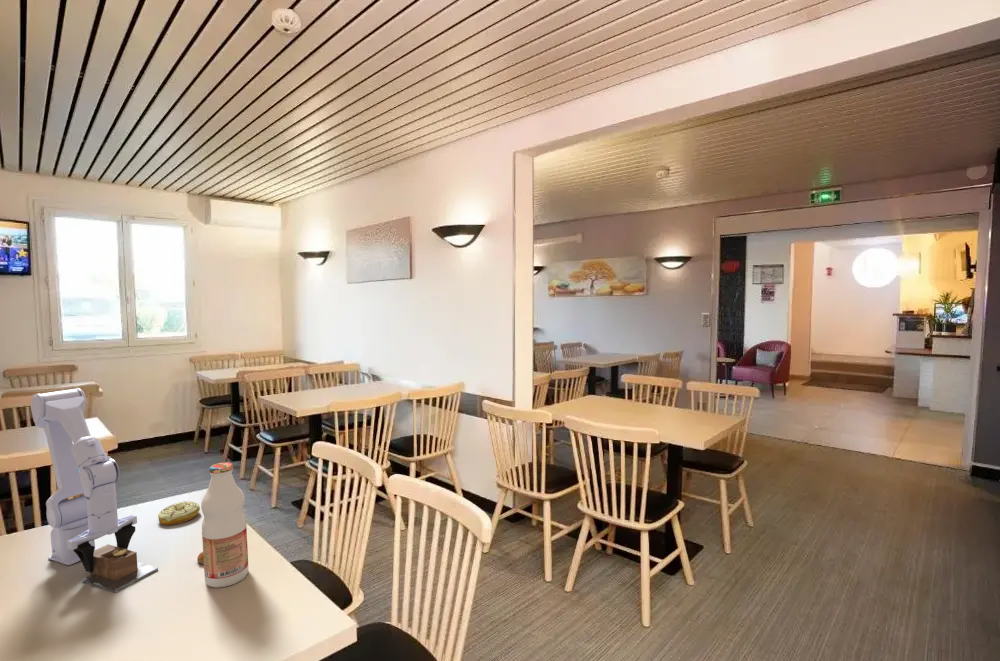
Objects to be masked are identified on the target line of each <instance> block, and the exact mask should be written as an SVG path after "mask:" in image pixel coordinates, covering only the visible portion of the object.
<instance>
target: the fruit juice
mask: <svg viewBox="0 0 1000 661" xmlns="http://www.w3.org/2000/svg"><path fill="white" fill-rule="evenodd" d="M232 472H234V465H233V463H232V462H227V461H226V462H219V463H215V464H212V465H211V466H210V467H209V475H211V476H210V481H209V484H208V488H207V490H206V492H205V494H204V495H203V497H202V500H201V504H200V505H201V506H200V510H201V511H202V515H203V521H202V523H201V524H202V525H201V536H202V537H201V538H202V540H201V541H202V552H203V558H204V564H203V574H204V582H205V584H206V585H207V586H208V587H209V588H216V589H217V588H224V587H229V586H233V585H235V584H238V583H239V582H241V581H242V580H243V579H245V578H246V576H247V575H248V573H249V552H248V551H249V550H248V532H247V517H246V513H245V512H244V510H243V508H244V505H245V494H244V492H243V491H242V489H241V488H240V487H239V486H238V485H237V483H236V481H235V479H234V476H233V473H232Z"/></svg>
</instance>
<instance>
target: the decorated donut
mask: <svg viewBox="0 0 1000 661" xmlns="http://www.w3.org/2000/svg"><path fill="white" fill-rule="evenodd" d="M200 511H201V506H200V504H199V503H197V502H195V501H180V502H175V503H173V504H171V505H168V506H166V507H165V508H163V509H162V510H161V511H159V513H158V514H157V517H158V520H159V523H160V524H161V525H162V526H164V525H165V526H172V525H178V524H182V522H183V523H185V522H188V521H191V520H192V519H194V518H195V517H196V516H197V515H198V514H199V513H200Z"/></svg>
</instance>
